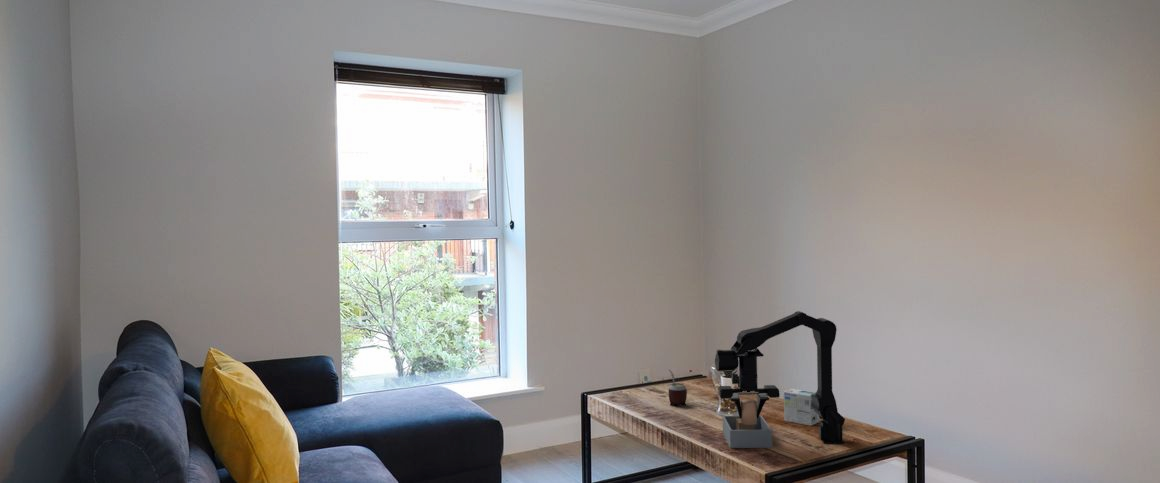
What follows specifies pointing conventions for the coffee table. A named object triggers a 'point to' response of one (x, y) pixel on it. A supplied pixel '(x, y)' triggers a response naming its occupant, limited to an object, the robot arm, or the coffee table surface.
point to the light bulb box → (799, 407)
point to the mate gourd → (677, 393)
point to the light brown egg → (749, 412)
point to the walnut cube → (743, 425)
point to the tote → (747, 434)
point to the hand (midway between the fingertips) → (748, 418)
